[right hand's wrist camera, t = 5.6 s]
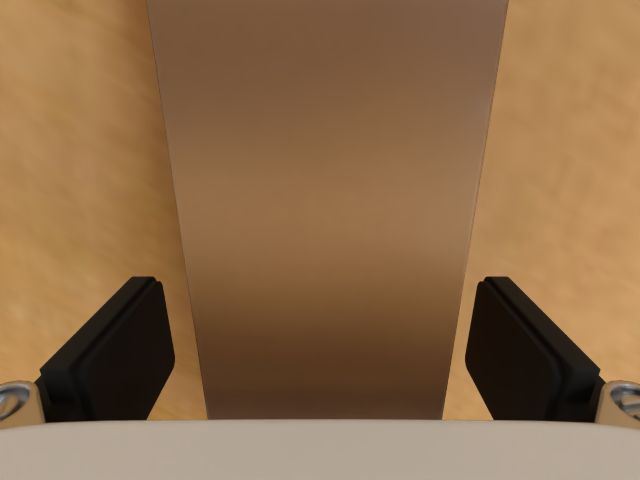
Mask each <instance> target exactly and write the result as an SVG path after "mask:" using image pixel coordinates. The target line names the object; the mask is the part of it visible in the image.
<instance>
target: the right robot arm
mask: <svg viewBox="0 0 640 480" xmlns="http://www.w3.org/2000/svg"><path fill="white" fill-rule="evenodd" d="M174 363H175V354H174V348H173V343H172V337H171V331H170V325H169V320H168V314H167V308H166V302H165V297H164V291H163V286H162V283H161V282H160V281H156V279H155V278H154V277H132V278H130V279H129V280H128V281H127V282H126V283H125V284H124V285H123V286H122V287H121V288H120V289H119V290H118V291H117V292H116V293H115V294H114V295H113V296H112V297H111V298H110V299H109V300H108V301H107V302H106V303H105V304H104V305H103V306H102V307H101V308H100V309H99V310H98V311H97V312H96V313H95V314H94V315H93V316H92V317H91V318H90V319H89V320H88V321H87V322H86V323H85V324H84V325H83V326H82V327H81V328H80V329H79V330H78V331H77V332H76V333H75V334H74V335H73V336H72V337H71V338H70V339H69V340H68V341H67V342H66V343H65V344H64V345H63V346H62V347H61V348H60V349H59V350H58V351H57V352H56V353H55V354H54V355H53V356H52V357H51V358H50V359H49V360H48V361H47V362H46V363H45V364H44V365H43V366H42V367H41V368H40V372H41V376H40V377H39V378H38V379H37V380H36V381H35V382H34V383H32V382H30V381H22V380H18V381H11V382H6V383H2V384H0V480H640V384H638V383H634V382H629V381H622V380H618V381H610V382H608V383H606V382H605V381H604V380H603V379H602V378H601V377H600V376H599V372H600V370H601V369H600V368H599V367H598V366H597V365H596V364H595V363H594V362H593V361H592V360H591V359H590V358H589V357H588V356H587V355H586V354H585V353H584V352H583V351H582V350H581V349H580V348H579V347H578V346H577V345H576V344H575V343H574V342H573V341H572V340H571V339H570V338H569V337H568V336H567V335H566V334H565V333H564V332H563V331H562V330H561V329H560V328H559V327H558V326H557V325H556V324H555V323H554V322H553V321H552V320H551V319H550V318H549V317H548V316H547V315H546V314H545V313H544V312H543V311H542V310H541V309H540V308H539V307H538V306H537V305H536V304H535V303H534V302H533V301H532V300H531V299H530V298H529V297H528V296H527V295H526V294H525V293H524V292H523V291H522V290H521V289H520V288H519V287H518V286H517V285H516V284H515V283H514V282H513V281H512V280H511V279H510V278H508V277H486V278H485V279H484V281H480V282H479V283H478V286H477V291H476V297H475V302H474V308H473V314H472V320H471V325H470V331H469V337H468V343H467V348H466V354H465V363H466V367H467V370H468V372H469V374H470V376H471V377H472V379H473V381H474V383H475V385H476V387H477V389H478V391H479V393H480V395H481V397H482V398H483V400H484V402H485V404H486V406H487V408H488V410H489V412H490V414H491V416H492V418H493V419H494V420H375V419H263V420H146V419H147V418H148V416H149V414H150V412H151V410H152V408H153V406H154V404H155V402H156V400H157V398H158V397H159V395H160V393H161V391H162V389H163V387H164V385H165V383H166V381H167V379H168V377H169V376H170V374H171V372H172V370H173V367H174Z"/></svg>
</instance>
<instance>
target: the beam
mask: <svg viewBox="0 0 640 480" xmlns="http://www.w3.org/2000/svg"><path fill="white" fill-rule="evenodd" d="M508 1H509V0H146V2H147V8H148V15H149V22H150V29H151V36H152V43H153V49H154V56H155V63H156V70H157V77H158V83H159V90H160V97H161V104H162V111H163V117H164V124H165V131H166V138H167V145H168V151H169V158H170V165H171V172H172V179H173V186H174V192H175V199H176V206H177V213H178V220H179V226H180V233H181V240H182V247H183V254H184V260H185V267H186V274H187V281H188V288H189V294H190V301H191V308H192V315H193V322H194V328H195V335H196V342H197V349H198V356H199V363H200V369H201V376H202V383H203V390H204V397H205V403H206V410H207V417H208V420H263V419H375V420H442V415H443V409H444V403H445V396H446V390H447V384H448V378H449V371H450V365H451V359H452V352H453V346H454V340H455V334H456V327H457V321H458V315H459V309H460V302H461V296H462V290H463V283H464V277H465V271H466V265H467V258H468V252H469V246H470V240H471V233H472V227H473V221H474V214H475V208H476V202H477V196H478V189H479V183H480V177H481V171H482V164H483V158H484V152H485V146H486V139H487V133H488V127H489V120H490V114H491V108H492V102H493V95H494V89H495V83H496V77H497V70H498V64H499V58H500V51H501V45H502V39H503V33H504V26H505V20H506V14H507V8H508Z"/></svg>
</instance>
